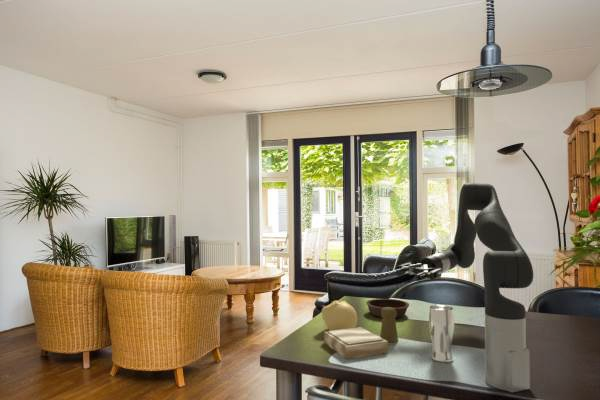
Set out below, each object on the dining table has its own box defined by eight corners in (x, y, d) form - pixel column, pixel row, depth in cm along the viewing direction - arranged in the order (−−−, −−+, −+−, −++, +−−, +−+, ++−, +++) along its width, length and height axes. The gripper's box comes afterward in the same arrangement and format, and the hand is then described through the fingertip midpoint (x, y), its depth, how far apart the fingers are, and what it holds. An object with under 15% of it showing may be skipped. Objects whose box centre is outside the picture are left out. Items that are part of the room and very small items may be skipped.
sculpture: (338, 324, 160) (338, 296, 160) (363, 331, 151) (363, 301, 151) (317, 330, 152) (317, 300, 152) (342, 338, 143) (341, 306, 143)
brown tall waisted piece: (398, 344, 137) (398, 310, 137) (379, 343, 138) (379, 309, 138) (398, 338, 142) (397, 306, 143) (379, 337, 144) (379, 305, 144)
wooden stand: (387, 353, 128) (387, 339, 128) (346, 359, 123) (346, 345, 123) (361, 338, 143) (361, 326, 143) (324, 342, 138) (323, 330, 138)
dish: (402, 308, 186) (402, 297, 186) (415, 322, 164) (415, 309, 164) (363, 308, 186) (363, 297, 186) (370, 321, 164) (370, 309, 164)
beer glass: (434, 353, 128) (434, 303, 128) (457, 358, 124) (457, 307, 124) (425, 359, 123) (425, 307, 123) (449, 365, 118) (449, 311, 119)
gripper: (418, 252, 160) (390, 261, 150) (451, 258, 149) (423, 268, 139) (419, 271, 161) (391, 281, 151) (452, 278, 150) (424, 290, 140)
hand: (406, 275), depth 145 cm, fingers open, 8 cm apart
